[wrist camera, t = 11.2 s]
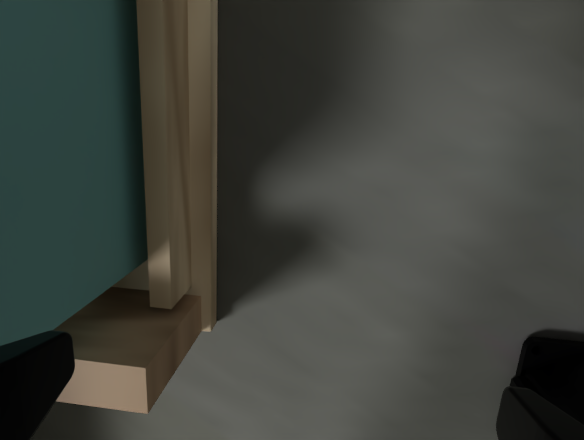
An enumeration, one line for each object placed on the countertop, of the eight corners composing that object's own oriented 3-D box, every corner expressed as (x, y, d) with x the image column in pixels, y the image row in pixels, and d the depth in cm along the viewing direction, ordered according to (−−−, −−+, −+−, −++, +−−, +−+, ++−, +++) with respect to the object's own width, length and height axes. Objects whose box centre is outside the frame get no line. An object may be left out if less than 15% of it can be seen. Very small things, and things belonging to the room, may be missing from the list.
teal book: (143, -12, 17) (-124, -184, 7) (154, 254, 20) (-21, 384, 10) (55, -14, 17) (-310, -179, 8) (79, 247, 20) (-156, 366, 11)
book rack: (218, -110, 16) (132, -268, 10) (216, 322, 22) (160, 415, 15) (-3, -109, 17) (-220, -252, 11) (46, 303, 23) (-78, 383, 16)
